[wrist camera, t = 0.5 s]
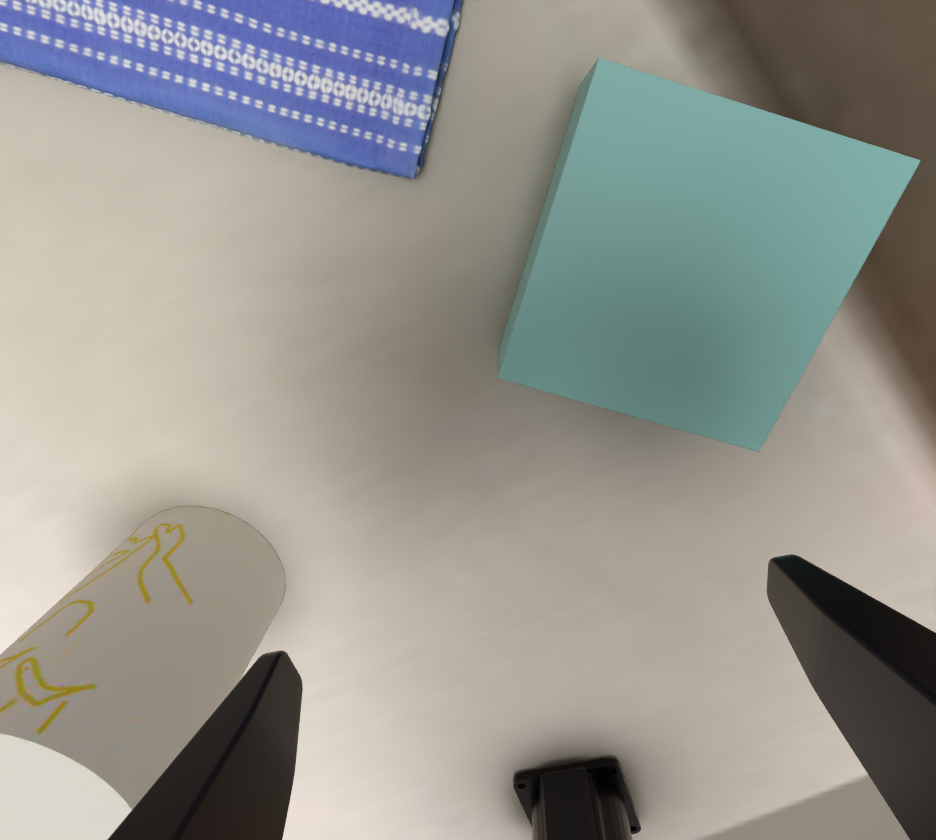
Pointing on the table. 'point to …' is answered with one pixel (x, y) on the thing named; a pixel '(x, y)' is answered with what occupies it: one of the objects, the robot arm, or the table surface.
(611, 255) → the teal plinth
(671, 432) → the table surface
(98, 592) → the cup
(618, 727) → the table surface
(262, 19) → the dish towel
